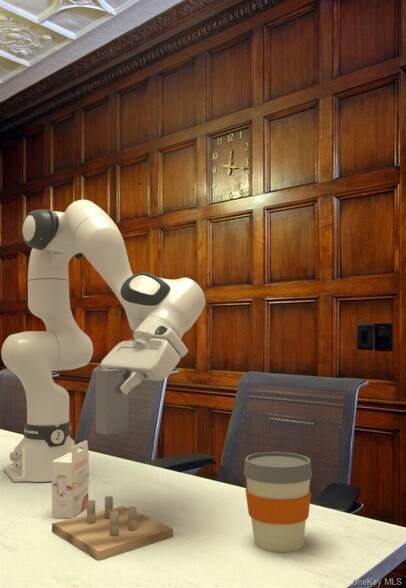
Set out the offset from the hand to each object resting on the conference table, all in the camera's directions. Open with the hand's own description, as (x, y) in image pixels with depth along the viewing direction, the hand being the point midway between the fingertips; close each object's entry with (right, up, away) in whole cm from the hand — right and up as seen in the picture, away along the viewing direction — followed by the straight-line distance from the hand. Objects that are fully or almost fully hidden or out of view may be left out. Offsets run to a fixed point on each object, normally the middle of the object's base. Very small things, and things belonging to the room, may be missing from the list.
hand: (114, 390), depth 106 cm
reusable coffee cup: (+31, -27, -7) cm, 42 cm away
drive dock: (0, -27, -2) cm, 27 cm away
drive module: (0, -8, -1) cm, 8 cm away
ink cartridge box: (-11, -28, +11) cm, 32 cm away
